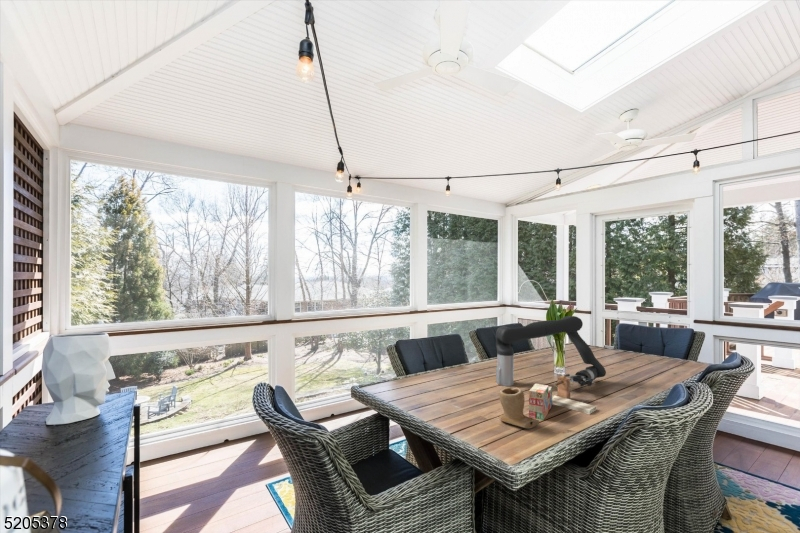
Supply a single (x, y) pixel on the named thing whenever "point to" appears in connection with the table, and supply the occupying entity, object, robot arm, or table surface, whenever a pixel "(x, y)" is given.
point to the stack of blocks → (540, 401)
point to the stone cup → (515, 408)
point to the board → (573, 404)
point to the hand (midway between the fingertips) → (572, 382)
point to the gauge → (563, 387)
